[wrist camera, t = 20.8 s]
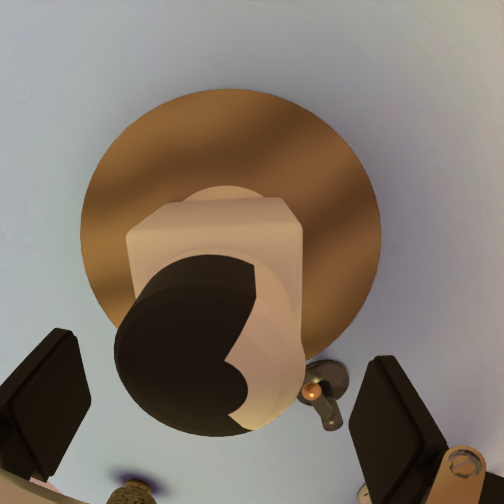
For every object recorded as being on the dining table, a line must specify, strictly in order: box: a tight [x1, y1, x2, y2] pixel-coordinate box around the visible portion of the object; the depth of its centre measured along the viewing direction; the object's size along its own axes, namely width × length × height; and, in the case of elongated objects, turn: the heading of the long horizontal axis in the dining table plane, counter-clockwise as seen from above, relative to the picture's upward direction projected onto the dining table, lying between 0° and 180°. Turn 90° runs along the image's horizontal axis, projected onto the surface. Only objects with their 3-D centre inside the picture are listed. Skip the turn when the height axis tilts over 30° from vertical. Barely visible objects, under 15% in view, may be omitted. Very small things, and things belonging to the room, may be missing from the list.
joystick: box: [297, 360, 349, 431], centre depth 25 cm, size 7×5×6 cm
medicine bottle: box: [114, 197, 306, 437], centre depth 14 cm, size 7×7×12 cm
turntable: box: [80, 89, 381, 401], centre depth 19 cm, size 20×20×6 cm
